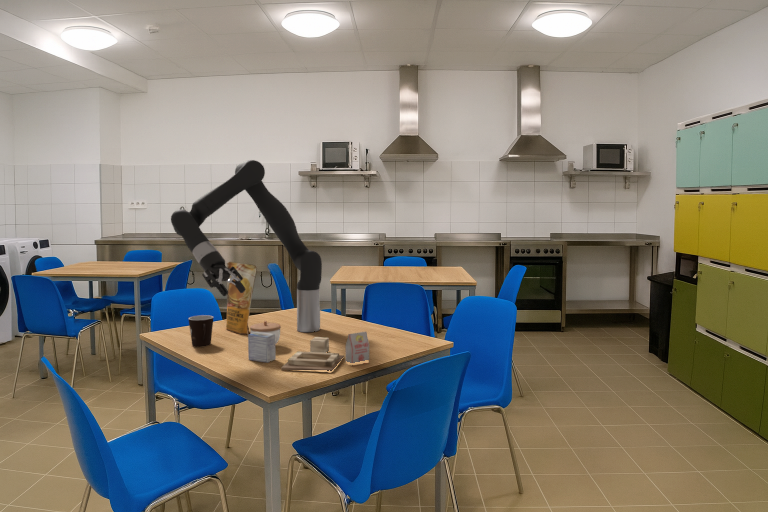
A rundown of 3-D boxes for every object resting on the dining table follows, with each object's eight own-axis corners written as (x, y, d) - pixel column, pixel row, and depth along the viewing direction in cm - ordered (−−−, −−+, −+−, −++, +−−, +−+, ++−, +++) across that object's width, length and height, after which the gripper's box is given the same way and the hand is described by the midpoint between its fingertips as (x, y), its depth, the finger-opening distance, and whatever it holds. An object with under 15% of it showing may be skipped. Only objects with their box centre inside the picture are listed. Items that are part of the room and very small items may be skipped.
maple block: (315, 351, 173) (315, 337, 173) (328, 352, 172) (329, 337, 172) (310, 354, 169) (310, 340, 168) (324, 355, 167) (324, 341, 167)
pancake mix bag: (234, 325, 212) (233, 260, 209) (259, 333, 199) (258, 264, 196) (220, 328, 207) (219, 261, 204) (244, 336, 194) (243, 265, 191)
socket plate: (297, 356, 167) (297, 348, 166) (344, 358, 164) (344, 351, 164) (281, 370, 151) (281, 362, 151) (332, 373, 148) (332, 365, 148)
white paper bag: (345, 363, 159) (345, 333, 158) (362, 360, 163) (363, 330, 162) (351, 366, 156) (351, 335, 155) (369, 362, 160) (369, 332, 159)
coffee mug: (193, 341, 184) (192, 315, 183) (216, 341, 185) (216, 315, 184) (183, 350, 172) (182, 322, 172) (208, 349, 173) (207, 321, 172)
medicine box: (276, 359, 162) (275, 333, 161) (267, 363, 158) (267, 336, 157) (256, 356, 165) (256, 331, 165) (248, 360, 161) (247, 334, 161)
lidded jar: (271, 351, 171) (271, 325, 171) (244, 349, 175) (244, 323, 174) (285, 344, 182) (285, 319, 181) (260, 341, 185) (260, 317, 184)
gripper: (199, 251, 162) (227, 288, 158) (228, 249, 175) (255, 283, 171) (187, 266, 164) (214, 303, 161) (217, 263, 177) (242, 297, 174)
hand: (235, 293), depth 166 cm, fingers open, 8 cm apart
